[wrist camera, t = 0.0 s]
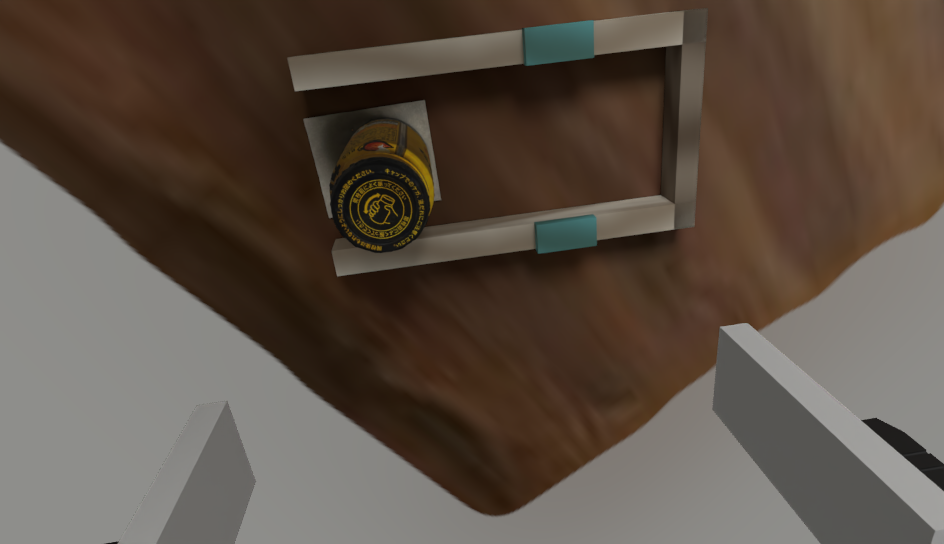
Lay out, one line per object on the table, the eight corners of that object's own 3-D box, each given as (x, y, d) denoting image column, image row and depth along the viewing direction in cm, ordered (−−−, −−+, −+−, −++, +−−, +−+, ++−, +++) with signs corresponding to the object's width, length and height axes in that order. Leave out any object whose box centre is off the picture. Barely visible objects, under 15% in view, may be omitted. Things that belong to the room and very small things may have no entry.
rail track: (294, 54, 36) (284, 56, 33) (689, 8, 38) (714, 5, 35) (341, 264, 42) (336, 282, 39) (679, 217, 44) (699, 231, 41)
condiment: (441, 199, 41) (452, 259, 30) (329, 217, 41) (300, 284, 30) (424, 99, 38) (431, 125, 27) (303, 118, 38) (261, 152, 27)
